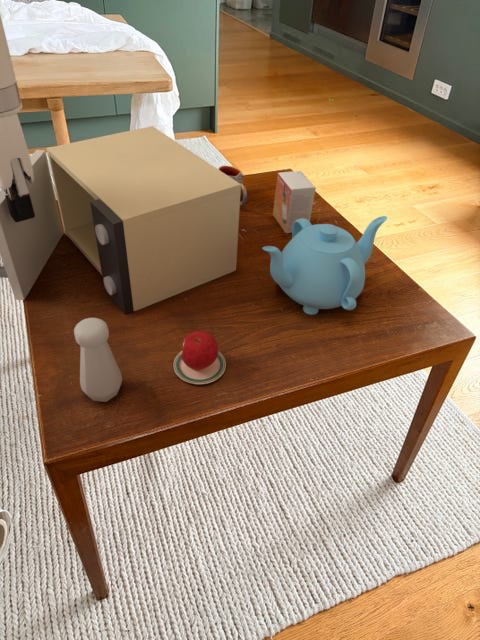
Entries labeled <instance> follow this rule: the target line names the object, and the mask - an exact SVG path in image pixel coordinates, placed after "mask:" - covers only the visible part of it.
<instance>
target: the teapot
mask: <svg viewBox="0 0 480 640" xmlns="http://www.w3.org/2000/svg"><path fill="white" fill-rule="evenodd" d="M387 220H388V216H386V215H382V216H378V217H376V218H375V219H373V220H371V221H370V223H368V225H367V226H366V229H365V230H364V232H363V233H362V236H360V239H359V240H358V241H356V240H355V238H354V236H353V235H352V234H351V233H350V232H349V231H348V230H345V229H343V228H342V227H339V226H336V225H334V224H332V223H316V224H312V223H311V220H310V221H309V220H307V219H304V218H301V219H297V220H296V221H295V222H294V223H293V228H292V233H291V239H290V240H289V242H288V243H287V244H286V245H285V247H284V248H283V250H282V251H281V250H280V249H279V248H278V247H276V246H274V245H273V246H272V245H265V246H263V247H262V248H261V249H262V250H263V251H264V252H266V253H268V254H269V256H270V265H269V273H270V276H271V278H272V280H273V281H274V282H275V283H276V284H277V285H279V287H280V288H281V290H282V291H283V293H284V294H285V295H286V296H288V297H289V298H290V299H291V300H292V301H294V302H296V303H297V304H299V305H301V306H302V311H303V312H304V313H305V314H307V315H310V316H311V315H313V316H314V315H316V314H318V313H319V310H330V309H331V310H332V309H335V308H340V307H342V308H343V309H344V310H346V311H353V310H354V309H356V307H357V300H356V299H357V298H358V297H359V296H360V295H361V293H362V291H363V289H364V287H365V282H366V267H365V264H366V263H367V262H368V260H369V259H370V258H371V256H372V252H373V248H374V242H375V237H376V234H377V232H378V230H379V228H380V227H381V226H382V225H383V224H384V223H385V222H386V221H387ZM302 228H303V230H302Z"/></svg>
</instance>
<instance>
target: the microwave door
mask: <svg viewBox="0 0 480 640" xmlns="http://www.w3.org/2000/svg"><path fill="white" fill-rule="evenodd" d="M47 156H48V155H47V151H46V150H44V149H36V150H34V152H33V153H32V154H31V156H30V160H31V164H32V168H33V173H34V181H33V182H32V183H30V182H29V181H28V180H27V179H26V181H27V186H28V190H29V194H30V198H31V202H32V206H33V210H34V214H35V217H34V218H31V219H28V220H24V221H20V222H15V221H14V220H13V218H12V217H11V214H10V211H9V208H8V204H7V201H6V198H5V195H8V194H5V192H4V190H3V189H1V190H0V257H1V261H2V264H3V266H2V265H0V278H3V279H8V282H9V285H10V288H11V291H12V294H13V297H14V300H16V301H25V300H26V298H27V296H28V295H29V293H30V292H31V289H32V288H33V286H34V285H35V283H36V281H37V280H38V278H39V276H40V274H41V272H43V269H44V268H45V266H46V264H47V262H48V260H49V259H50V257H51V255H52V254H53V252H54V250H55V249H56V247H57V246H58V243H60V240H61V239H62V237H63V235H64V230H63V225H62V223H61V222H62V220H61V216H60V211H59V207H58V202H57V197H56V193H55V188H54V183H53V179H52V174H51V169H50V165H49V162H48V161H49V160H48V158H47Z"/></svg>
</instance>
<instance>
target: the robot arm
mask: <svg viewBox="0 0 480 640" xmlns="http://www.w3.org/2000/svg"><path fill="white" fill-rule="evenodd" d="M18 86H19V85H18V81H17V77H16V74H15V70H14V66H13V61H12V56H11V52H10V49H9V45H8V40H7V36H6V32H5V28H4V24H3V19H2V15H1V14H0V189H1V190H2V189H3V190H4V192H5V194H8V195H5V198H6V201H7V204H8V208H9V211H10V214H11V217H12V218H13V220H14V221H15V222H20V221H24V220H28V219H31V218H34V217H35V214H34V210H33V206H32V202H31V198H30V194H29V190H28V186H27V181H26V179H27V180H28V181H29V182H30V183H32V182H33V181H34V173H33V168H32V164H31V160H30V157H31V156H30V153H29V148H28V145H27V142H26V139H25V135H24V131H23V127H22V125H21V121H20V119H19V115H18V112H21V110H22V109H23V103H22V99H21V94H20V91H19V87H18Z"/></svg>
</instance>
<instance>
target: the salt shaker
mask: <svg viewBox="0 0 480 640" xmlns="http://www.w3.org/2000/svg"><path fill="white" fill-rule="evenodd" d="M73 335H74V340H75V342H76V344H78V345H79V346H80V358H79V359H80V360H79V385H80V389H81V391H82V392H83V393H84V394H85V395H86V396H87V397H88V398H90V399H91V400H92V401H93V402H103V403H107V402H108V401H111V399H113V398H115V397H116V396H117V395H118V393H119V391H120V388H121V386H122V383H123V376H122V372H121V370H120V367H119V366H118V363H117V361H116V358H115V356H114V354H113V352H112V349H111V347H110V345H109V343H108V339H109V336H110V331H109V327H108V324H107V322H106V321H105V320H103V319H101V318H98V317H88V318H84V319H82V320H80V321H79V322H78V323H77V324H76V325H75V327H74V329H73Z"/></svg>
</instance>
